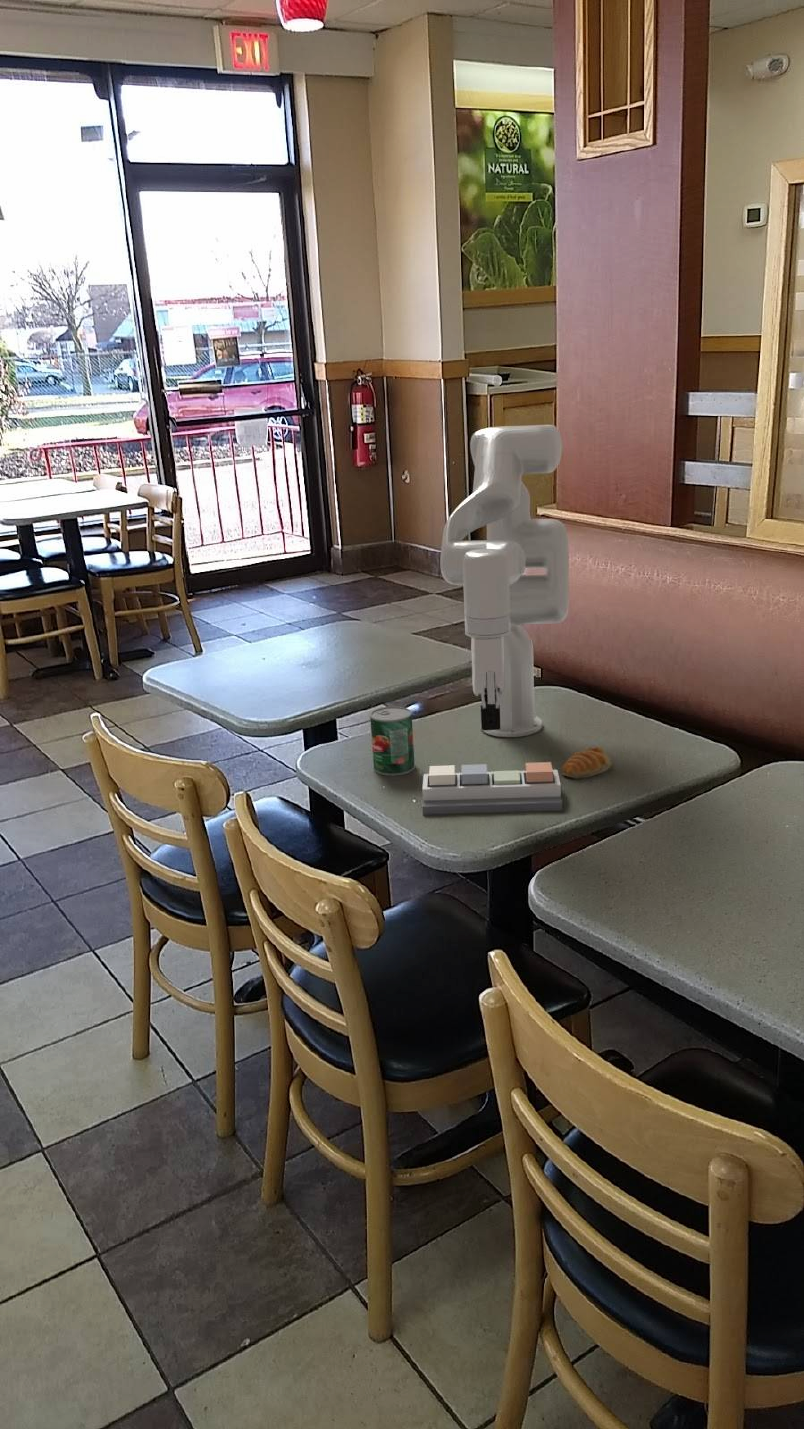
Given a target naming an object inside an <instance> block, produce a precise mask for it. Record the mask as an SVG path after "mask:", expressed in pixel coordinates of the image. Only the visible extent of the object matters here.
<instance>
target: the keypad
mask: <svg viewBox="0 0 804 1429" xmlns="http://www.w3.org/2000/svg"><path fill="white" fill-rule="evenodd" d="M552 770H553V781H548V782H527V777H526V770H519V775H520V784H515V785H494V771H487V783H485V784H462V772H455V784H453V785H429V773H424V774H423V778H422V790H421V791H422V815H424V816H425V815H427V816H428V815H453V814H454V815H455V814H484V813H485V814H486V813H487V814H488V813H489V814H491V813H520V812H523V813H524V812H525V813H527V812H551V811H554V812H555V811H558V812H559V811H561V812H562V811H563V801H562V796H561V794H562V792H561V791H562V788H561V787H562V786H561V784H562V783H561V781H560V776H559V772H558V769H552Z"/></svg>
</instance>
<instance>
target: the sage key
mask: <svg viewBox="0 0 804 1429" xmlns="http://www.w3.org/2000/svg"><path fill="white" fill-rule="evenodd" d="M519 771H520V770H493V772H494V785H515V784H520V775H519Z"/></svg>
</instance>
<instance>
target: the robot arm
mask: <svg viewBox="0 0 804 1429" xmlns="http://www.w3.org/2000/svg"><path fill="white" fill-rule="evenodd" d="M470 438H471V439H470V442H469V444H470V446H469V447H470V454H471V459H472V462H473V465H474V476H473V486H472V493H471V494H470V495H469V496H467V497H466V498H465V499H464V500H462V501H461V503H460V504H459V505H457V507H456V508H455V509H454V510H453V512H452V513H451V514H450V515H449V517H448V518H447V520H446V523H445V524H444V527H443V528H444V529H443V533H442V540H441V548H440V557H439V558H440V564H439V565H440V566H439V567H440V568H439V569H440V572H441V576H442V578H443V579H444V581H446V582H447V583H448V584H450V585H453V586H463V605H464V606H463V607H464V608H463V610H464V629H465V632H464V633H465V634H464V635H466V636H467V637H469V638H471V639H470V640H471V642H470V644H471V645H470V648H471V650H470V651H471V652H470V653H471V658H470V659H471V677H472V678H471V682H472V691H473V694H474V696H476V697H479V695H481V696H480V697H481V705H480V729H481V731H482V732H483V733H485V734H487V735H489V736H493V737H494V736H495V737H499V738H519V737H527V736H531V735H533V734H536V733H538V732H539V731H540V730H542V728H543V721H542V719H541V718H540V717H539V716H537V715H535V685H534V683H535V682H534V681H535V679H534V678H535V676H534V674H535V673H534V645H533V642H532V639H531V637H530V635H529V634H528V632H527V631H526V630H525V629H524V628H523V627H522V625H526V624H527V625H528V624H529V625H530V624H535V625H537V624H540V625H541V624H543V625H544V624H558V623H561V622H563V621H565V619H566V618H567V615H568V614H569V606H570V605H569V604H570V560H569V559H570V556H569V555H570V551H569V550H570V549H569V545H570V544H569V535H568V530H567V527H566V526H565V524H564V522H562V521H560V520H558V519H553V518H533V519H532V518H531V513H530V512H531V495H530V492H529V489H528V488H527V486H525V484H524V482H523V481H522V475H534V474H535V475H536V474H551V473H553V472H555V470H556V469H557V468H558V466H559V464H560V462H561V459H562V454H563V441H562V436H561V432H560V430H559V428H558V427H557V426H555V425H554V424H534V425H533V424H532V425H506V426H504V425H503V426H490V427H486V428H481V429H479V430H477V431H475V432H474V433H473V434H472V435H471V437H470ZM485 526H486V539H484V540H482V539H481V540H479V539H478V540H464V538H466V537H467V536H468V535H469V534H470V533H472V532H474V531H476V530H478V529H480V528H482V527H485ZM526 569H542V570H544V571H545V573H546V574H526V575H525V574H524V572H525V570H526Z"/></svg>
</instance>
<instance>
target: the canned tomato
mask: <svg viewBox="0 0 804 1429" xmlns="http://www.w3.org/2000/svg"><path fill="white" fill-rule="evenodd" d="M412 714H413V713H412V710H411V709H409V708H407V707H403V706H384V707H379V708H376V709H374V710H372V711H371V712H370V713H369V719H370V734H371V748H372V760H373V761H372V762H373V770H374V772H375V773H376V772H377V773H376V774H378V773H379V774H378V775H381V774H382V776H390V775H391V776H401V775H406V774H408V773H410V772H412V771H413V770H415V768H416V764H415V749H414V745H415V744H414V734H413V729H414V728H413V718H412Z"/></svg>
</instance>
